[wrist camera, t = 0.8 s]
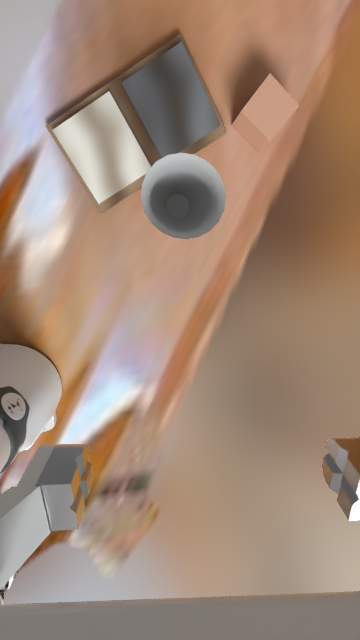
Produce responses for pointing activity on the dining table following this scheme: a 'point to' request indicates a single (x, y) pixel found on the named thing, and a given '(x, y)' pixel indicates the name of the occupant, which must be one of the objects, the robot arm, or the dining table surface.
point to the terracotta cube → (265, 113)
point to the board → (137, 123)
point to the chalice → (183, 195)
